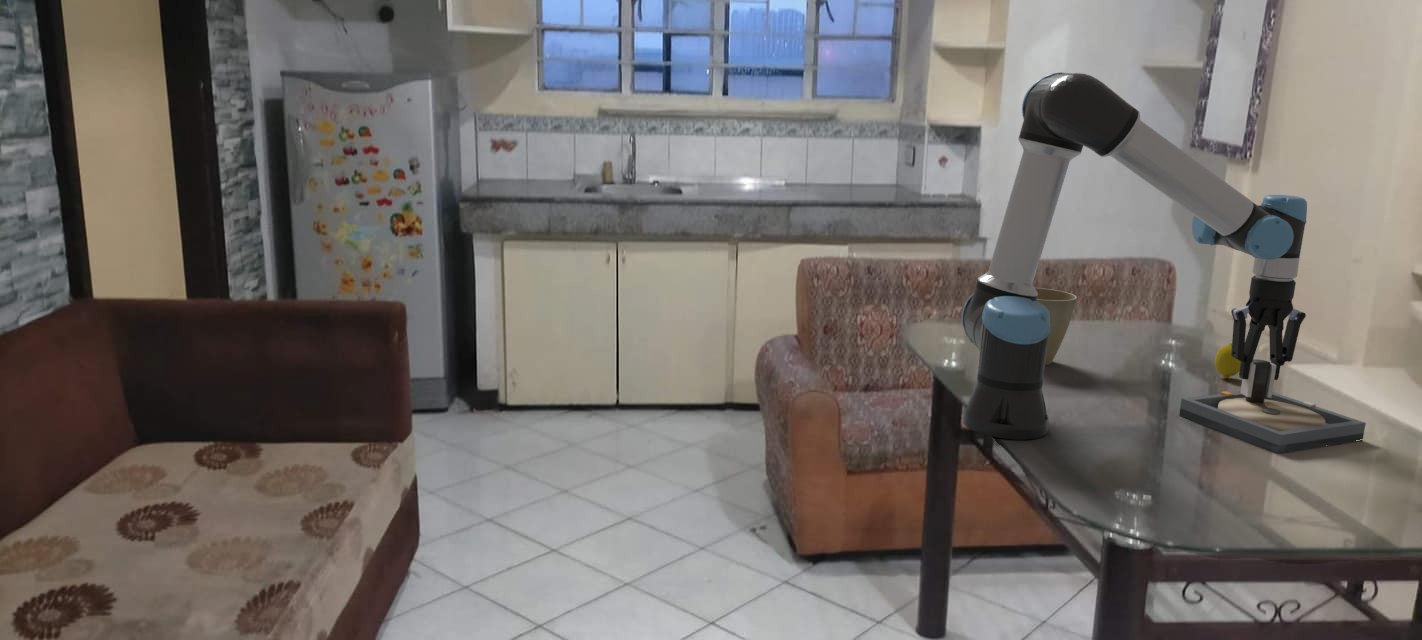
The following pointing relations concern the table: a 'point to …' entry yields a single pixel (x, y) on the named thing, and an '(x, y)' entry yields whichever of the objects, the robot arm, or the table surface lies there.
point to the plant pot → (1056, 317)
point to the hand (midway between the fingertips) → (1255, 394)
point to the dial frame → (1331, 433)
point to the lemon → (1226, 362)
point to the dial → (1269, 406)
